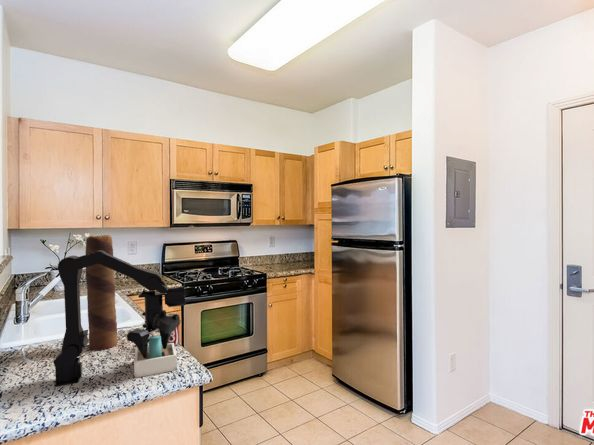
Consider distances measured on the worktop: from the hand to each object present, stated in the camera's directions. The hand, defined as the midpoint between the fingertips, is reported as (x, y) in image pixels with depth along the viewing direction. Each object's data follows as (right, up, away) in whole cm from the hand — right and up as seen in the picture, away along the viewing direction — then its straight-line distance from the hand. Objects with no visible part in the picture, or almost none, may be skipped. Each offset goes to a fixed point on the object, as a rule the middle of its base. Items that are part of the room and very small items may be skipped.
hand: (155, 353), depth 122 cm
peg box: (0, -5, 0) cm, 4 cm away
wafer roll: (-29, -5, +20) cm, 36 cm away
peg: (0, -4, 0) cm, 4 cm away
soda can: (-2, -4, +20) cm, 20 cm away
